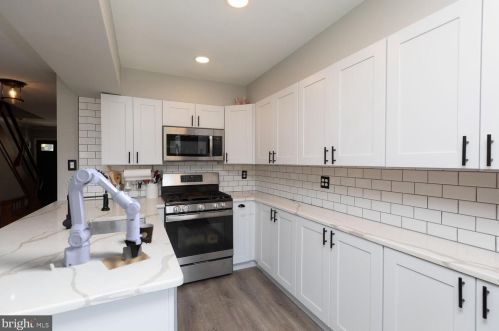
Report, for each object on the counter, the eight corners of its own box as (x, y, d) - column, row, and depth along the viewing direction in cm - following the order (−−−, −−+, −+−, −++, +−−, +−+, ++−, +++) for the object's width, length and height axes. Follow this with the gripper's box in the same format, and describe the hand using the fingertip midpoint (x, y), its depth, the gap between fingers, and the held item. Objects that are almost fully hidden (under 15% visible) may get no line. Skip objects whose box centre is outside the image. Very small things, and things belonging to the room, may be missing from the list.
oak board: (109, 272, 100) (109, 269, 100) (100, 262, 110) (100, 259, 110) (151, 260, 113) (151, 257, 113) (140, 252, 122) (140, 249, 122)
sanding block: (126, 260, 109) (126, 249, 109) (122, 257, 112) (122, 247, 112) (141, 256, 114) (141, 246, 114) (138, 253, 117) (138, 243, 117)
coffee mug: (156, 240, 140) (156, 224, 140) (146, 245, 132) (146, 228, 131) (140, 238, 143) (140, 222, 143) (129, 243, 135) (129, 226, 135)
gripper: (147, 228, 111) (147, 257, 111) (136, 222, 121) (136, 249, 121) (131, 232, 106) (131, 261, 106) (121, 225, 116) (121, 252, 116)
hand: (133, 255), depth 113 cm, fingers closed on sanding block, 4 cm apart
